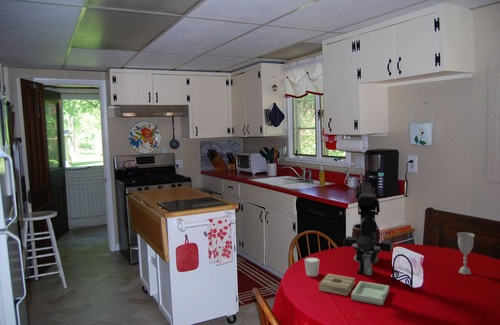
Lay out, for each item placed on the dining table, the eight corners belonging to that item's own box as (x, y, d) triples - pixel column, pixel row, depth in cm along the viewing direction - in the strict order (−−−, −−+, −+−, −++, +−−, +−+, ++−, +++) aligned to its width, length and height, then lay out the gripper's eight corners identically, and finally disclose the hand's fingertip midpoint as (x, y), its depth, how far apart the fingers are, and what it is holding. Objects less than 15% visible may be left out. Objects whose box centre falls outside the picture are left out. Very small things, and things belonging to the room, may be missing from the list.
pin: (363, 271, 164) (363, 250, 163) (374, 272, 162) (374, 251, 161) (361, 274, 160) (360, 253, 160) (372, 276, 158) (372, 254, 157)
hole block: (328, 280, 179) (327, 273, 178) (354, 284, 173) (354, 278, 173) (319, 290, 168) (319, 283, 168) (347, 295, 162) (347, 288, 162)
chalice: (456, 274, 180) (457, 235, 178) (455, 269, 186) (456, 231, 185) (475, 276, 177) (476, 237, 176) (472, 270, 184) (473, 232, 182)
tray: (359, 286, 171) (359, 280, 171) (388, 291, 165) (388, 285, 165) (351, 299, 159) (351, 293, 158) (382, 305, 153) (382, 299, 153)
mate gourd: (379, 264, 195) (379, 225, 193) (350, 262, 200) (350, 223, 198) (380, 254, 209) (380, 217, 207) (354, 252, 214) (353, 216, 212)
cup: (319, 277, 183) (319, 262, 182) (304, 276, 184) (304, 261, 183) (319, 271, 189) (319, 257, 189) (305, 271, 191) (305, 256, 190)
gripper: (339, 229, 157) (339, 267, 159) (387, 234, 148) (387, 274, 149) (347, 222, 167) (347, 258, 168) (393, 227, 157) (393, 265, 159)
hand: (367, 264), depth 161 cm, fingers closed on pin, 4 cm apart
